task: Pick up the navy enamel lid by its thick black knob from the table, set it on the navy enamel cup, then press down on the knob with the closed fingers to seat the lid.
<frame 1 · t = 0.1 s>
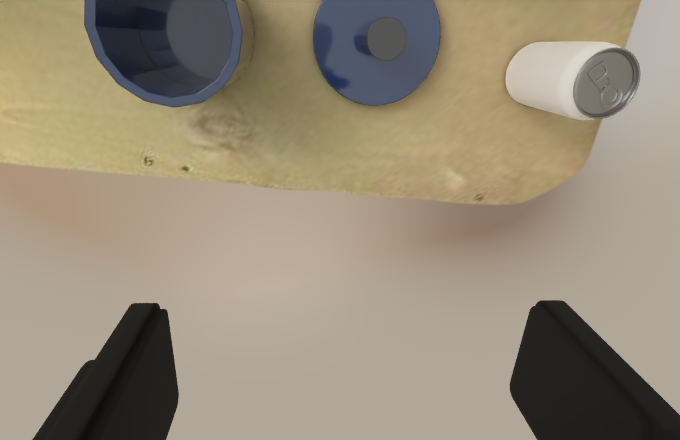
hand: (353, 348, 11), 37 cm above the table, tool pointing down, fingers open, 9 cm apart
lid: (376, 39, 42), point 1 cm above the table
cup: (194, 31, 41), on the table
can: (531, 73, 45), on the table
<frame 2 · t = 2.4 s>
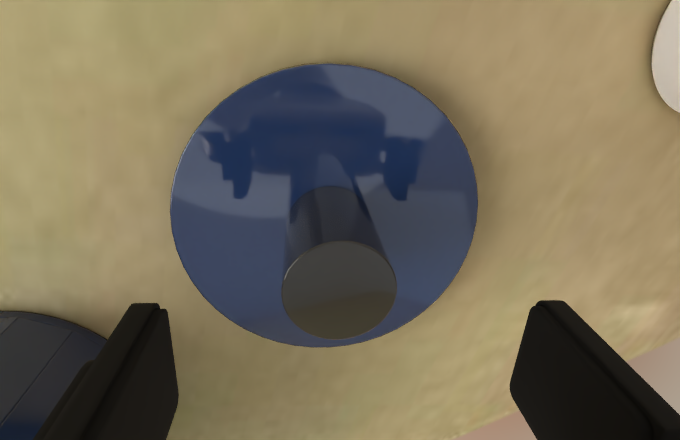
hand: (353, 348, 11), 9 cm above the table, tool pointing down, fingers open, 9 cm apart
lid: (328, 220, 18), point 1 cm above the table
cup: (35, 405, 21), on the table
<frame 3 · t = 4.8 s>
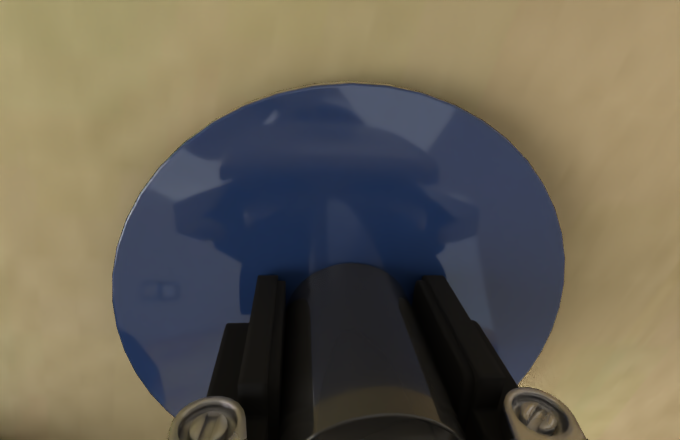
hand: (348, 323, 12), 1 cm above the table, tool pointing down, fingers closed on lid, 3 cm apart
lid: (345, 305, 12), point 1 cm above the table, touching gripper
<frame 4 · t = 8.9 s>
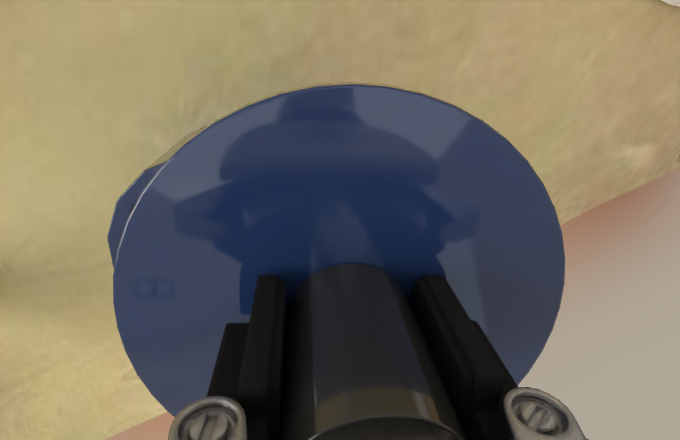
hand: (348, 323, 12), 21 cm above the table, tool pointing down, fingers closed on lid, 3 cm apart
lid: (346, 305, 12), point 20 cm above the table, touching gripper
cup: (240, 196, 32), on the table
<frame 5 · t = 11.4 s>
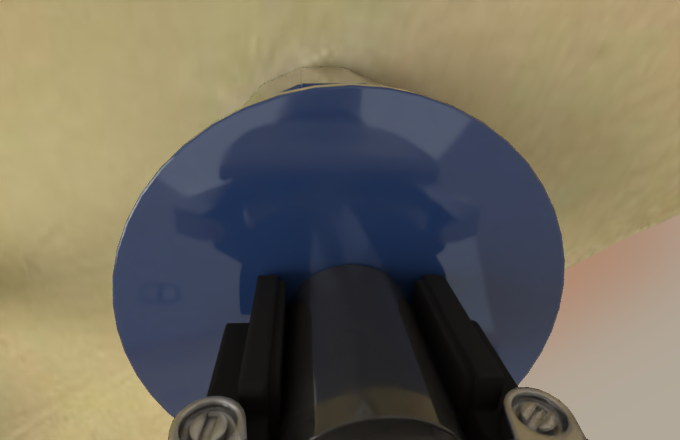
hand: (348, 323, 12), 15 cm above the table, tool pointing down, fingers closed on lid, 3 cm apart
lid: (345, 306, 12), point 14 cm above the table, touching gripper
cup: (322, 168, 25), on the table
when the fingers open (10 cm above the table, at t = 13.0 s): lid stays where it is, resting on cup.
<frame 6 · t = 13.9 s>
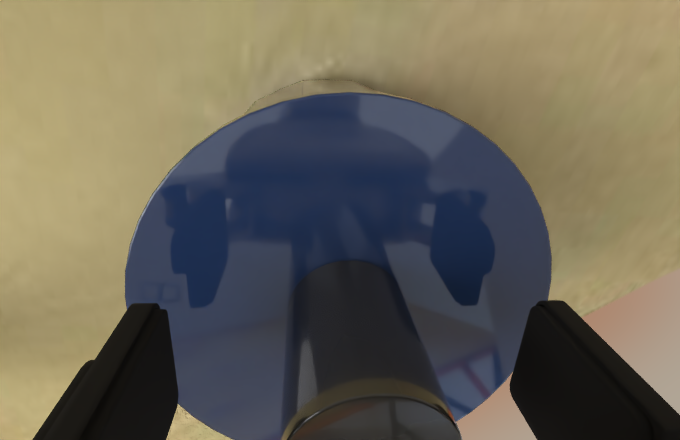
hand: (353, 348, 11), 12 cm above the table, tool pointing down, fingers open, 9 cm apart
lid: (344, 300, 13), point 9 cm above the table, touching cup
cup: (327, 195, 22), on the table
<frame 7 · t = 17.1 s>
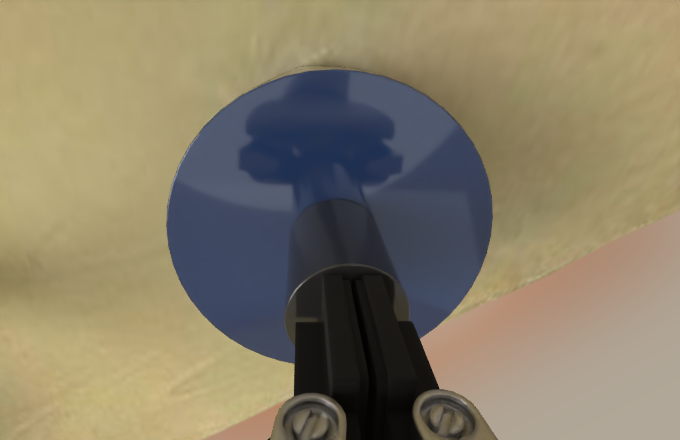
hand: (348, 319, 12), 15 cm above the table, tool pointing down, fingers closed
lid: (333, 234, 17), point 9 cm above the table, touching cup, gripper
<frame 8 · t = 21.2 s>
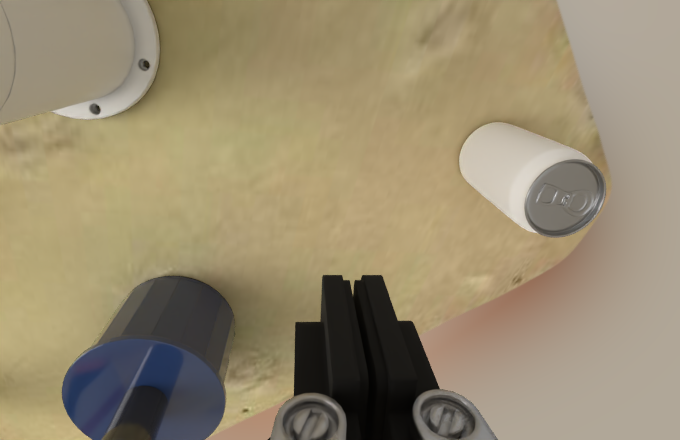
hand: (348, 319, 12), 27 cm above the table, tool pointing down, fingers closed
lid: (148, 396, 35), point 9 cm above the table, touching cup
cup: (178, 323, 43), on the table
can: (490, 155, 39), on the table
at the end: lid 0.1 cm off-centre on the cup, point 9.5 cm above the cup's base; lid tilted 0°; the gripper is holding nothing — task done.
